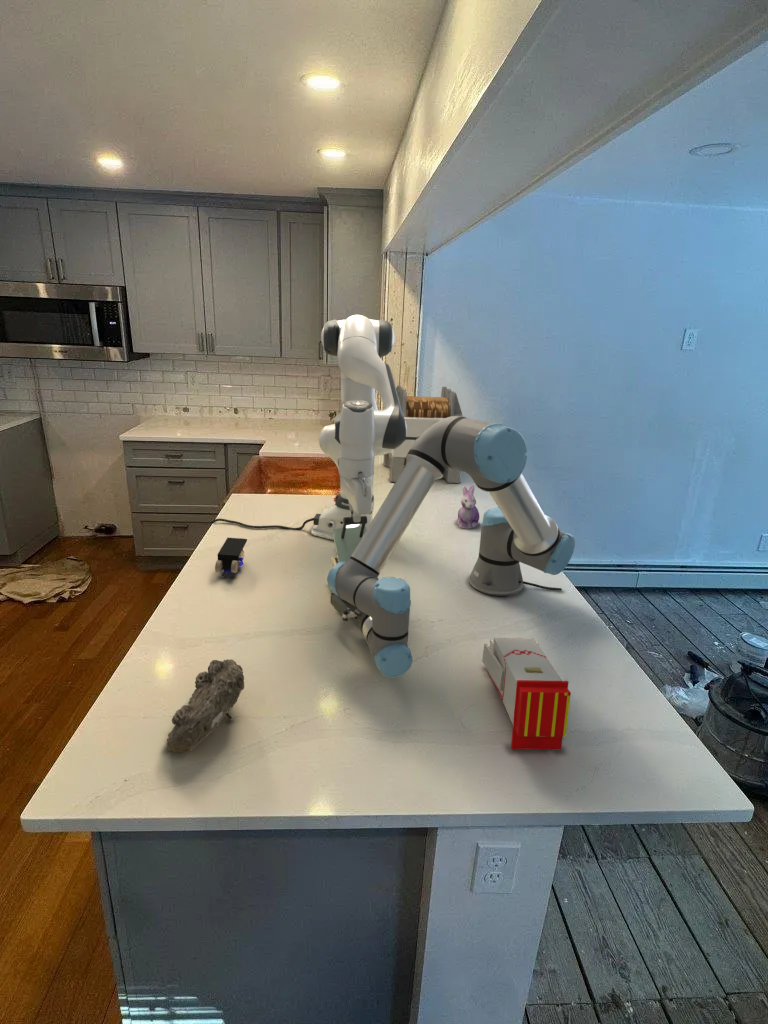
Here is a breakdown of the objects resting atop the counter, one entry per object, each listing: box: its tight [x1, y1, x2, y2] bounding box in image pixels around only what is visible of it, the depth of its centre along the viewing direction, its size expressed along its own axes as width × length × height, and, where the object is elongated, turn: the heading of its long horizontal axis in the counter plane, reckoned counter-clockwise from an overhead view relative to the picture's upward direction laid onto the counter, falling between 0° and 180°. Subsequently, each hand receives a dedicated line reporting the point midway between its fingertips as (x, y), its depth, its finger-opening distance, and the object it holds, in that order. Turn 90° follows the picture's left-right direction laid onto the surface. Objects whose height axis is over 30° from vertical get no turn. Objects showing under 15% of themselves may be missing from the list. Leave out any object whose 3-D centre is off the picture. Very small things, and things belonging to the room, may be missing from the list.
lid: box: [333, 516, 367, 563], centre depth 146 cm, size 16×9×9 cm
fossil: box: [166, 658, 245, 754], centre depth 106 cm, size 22×10×15 cm
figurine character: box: [214, 537, 248, 578], centre depth 166 cm, size 7×8×15 cm
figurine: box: [456, 484, 480, 530], centre depth 209 cm, size 9×10×15 cm
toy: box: [481, 636, 572, 751], centre depth 115 cm, size 12×13×30 cm
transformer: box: [383, 384, 463, 484], centre depth 268 cm, size 34×33×41 cm
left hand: (355, 519), depth 146 cm, fingers closed
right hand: (356, 581), depth 149 cm, fingers closed on chest, 9 cm apart
